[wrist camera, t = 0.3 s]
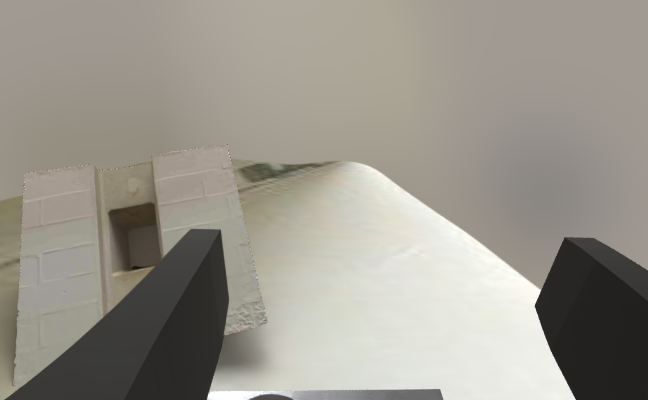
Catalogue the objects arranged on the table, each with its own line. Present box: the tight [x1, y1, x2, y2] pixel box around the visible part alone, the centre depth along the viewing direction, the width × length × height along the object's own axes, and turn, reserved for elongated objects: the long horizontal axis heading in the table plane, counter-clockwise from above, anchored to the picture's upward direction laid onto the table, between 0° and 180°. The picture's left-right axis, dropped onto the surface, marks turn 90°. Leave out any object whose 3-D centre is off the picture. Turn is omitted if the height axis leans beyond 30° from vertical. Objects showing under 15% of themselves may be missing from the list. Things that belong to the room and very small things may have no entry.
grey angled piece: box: [13, 144, 267, 387], centre depth 34 cm, size 16×9×15 cm
